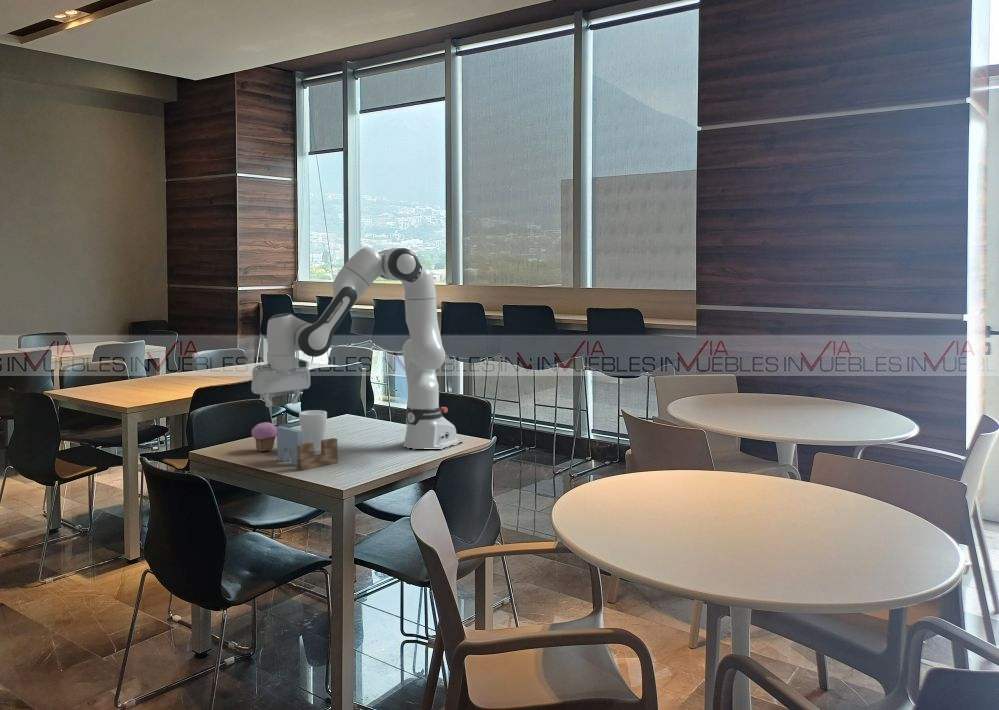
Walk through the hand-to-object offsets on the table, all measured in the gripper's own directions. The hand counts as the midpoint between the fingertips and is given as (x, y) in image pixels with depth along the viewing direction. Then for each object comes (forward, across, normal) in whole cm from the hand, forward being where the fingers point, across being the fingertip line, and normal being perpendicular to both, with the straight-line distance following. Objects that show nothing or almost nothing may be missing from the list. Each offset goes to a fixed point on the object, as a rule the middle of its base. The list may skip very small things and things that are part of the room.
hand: (281, 405), depth 257 cm
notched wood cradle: (+18, +3, -15) cm, 24 cm away
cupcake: (+19, +3, +16) cm, 25 cm away
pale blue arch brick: (+18, 0, -4) cm, 19 cm away
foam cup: (+18, +16, +6) cm, 25 cm away
